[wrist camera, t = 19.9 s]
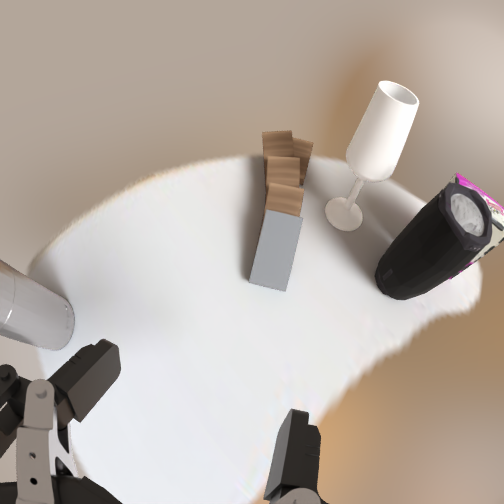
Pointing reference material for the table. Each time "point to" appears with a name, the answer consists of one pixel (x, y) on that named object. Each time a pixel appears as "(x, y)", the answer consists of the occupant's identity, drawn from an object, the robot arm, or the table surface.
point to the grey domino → (276, 250)
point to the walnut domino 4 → (302, 155)
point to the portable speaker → (436, 243)
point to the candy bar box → (500, 218)
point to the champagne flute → (375, 148)
